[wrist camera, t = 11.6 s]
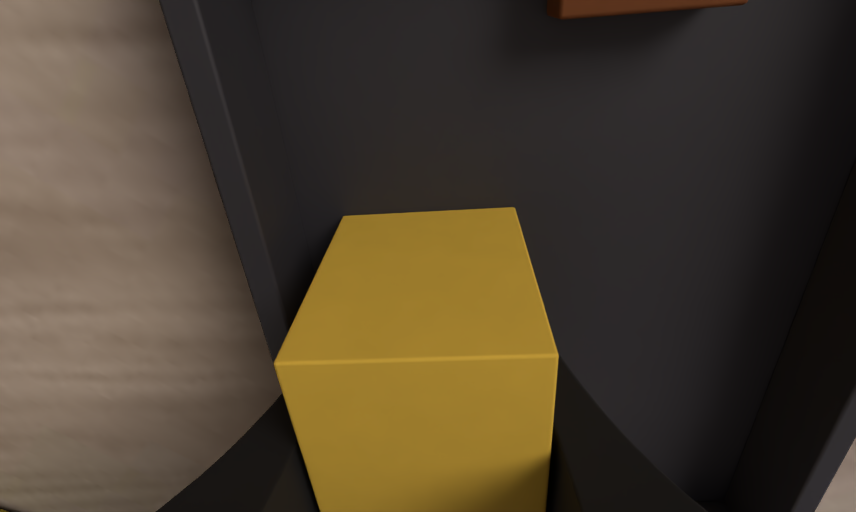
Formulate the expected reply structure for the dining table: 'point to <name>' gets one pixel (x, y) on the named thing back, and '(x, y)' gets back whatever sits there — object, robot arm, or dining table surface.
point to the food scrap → (627, 7)
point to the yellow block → (423, 367)
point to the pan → (579, 195)
